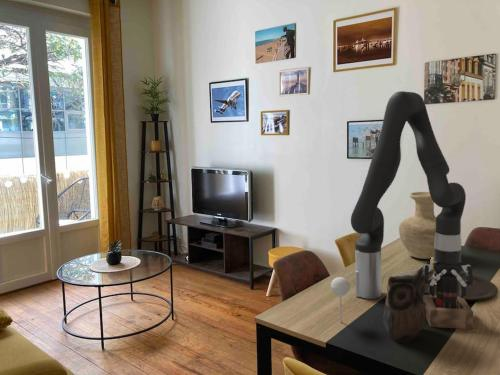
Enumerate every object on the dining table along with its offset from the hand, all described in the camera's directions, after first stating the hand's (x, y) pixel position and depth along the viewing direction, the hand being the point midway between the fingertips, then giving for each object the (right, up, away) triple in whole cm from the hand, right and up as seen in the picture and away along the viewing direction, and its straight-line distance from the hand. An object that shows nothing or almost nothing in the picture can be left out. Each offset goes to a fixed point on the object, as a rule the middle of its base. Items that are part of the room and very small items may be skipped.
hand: (446, 296), depth 132 cm
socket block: (0, -8, +1) cm, 8 cm away
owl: (-16, -9, -5) cm, 19 cm away
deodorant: (0, -8, +1) cm, 8 cm away
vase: (+20, +2, +64) cm, 67 cm away
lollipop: (-33, -9, +3) cm, 34 cm away
